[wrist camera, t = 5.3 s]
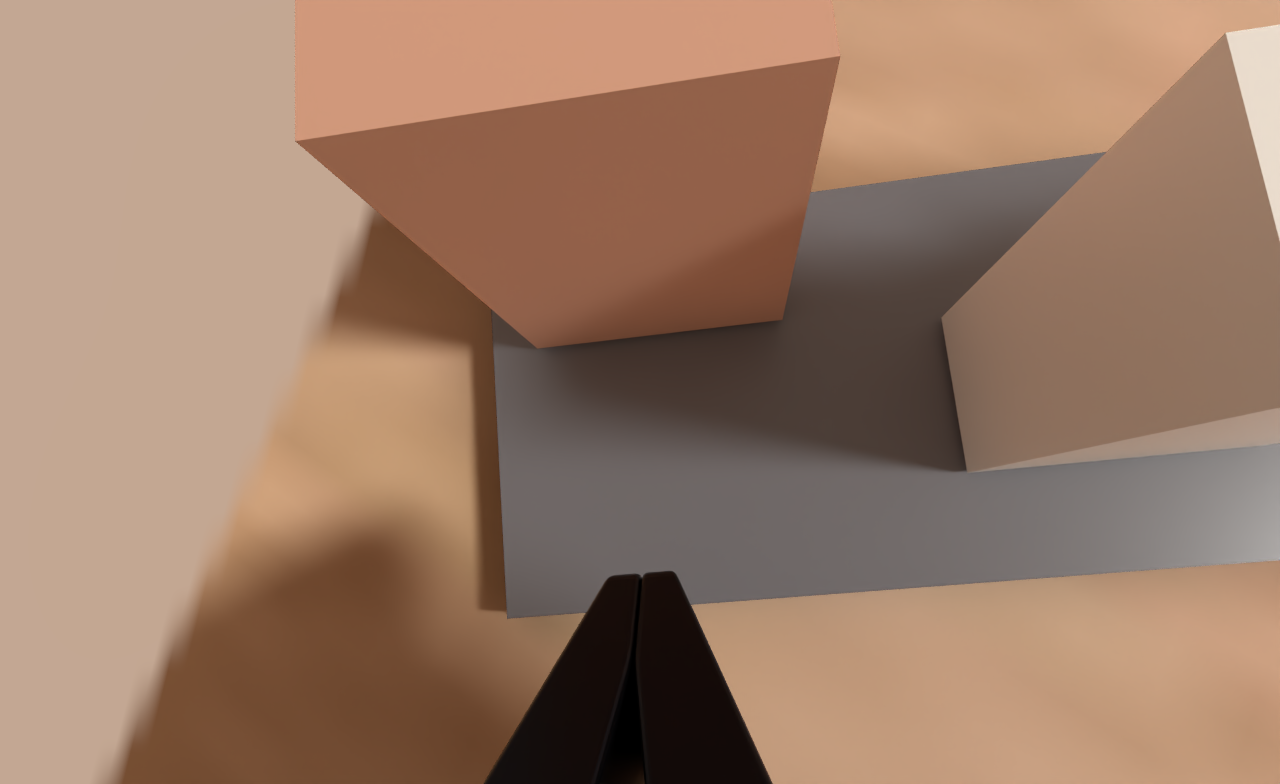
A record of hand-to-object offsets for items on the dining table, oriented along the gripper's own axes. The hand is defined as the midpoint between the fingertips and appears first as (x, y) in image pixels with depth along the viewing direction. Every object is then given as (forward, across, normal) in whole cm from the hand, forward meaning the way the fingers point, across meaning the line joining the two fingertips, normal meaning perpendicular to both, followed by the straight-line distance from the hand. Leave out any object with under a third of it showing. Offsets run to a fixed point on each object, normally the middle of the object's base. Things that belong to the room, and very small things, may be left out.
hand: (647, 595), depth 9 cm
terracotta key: (+8, 0, -1) cm, 8 cm away
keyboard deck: (+7, -8, +2) cm, 11 cm away
